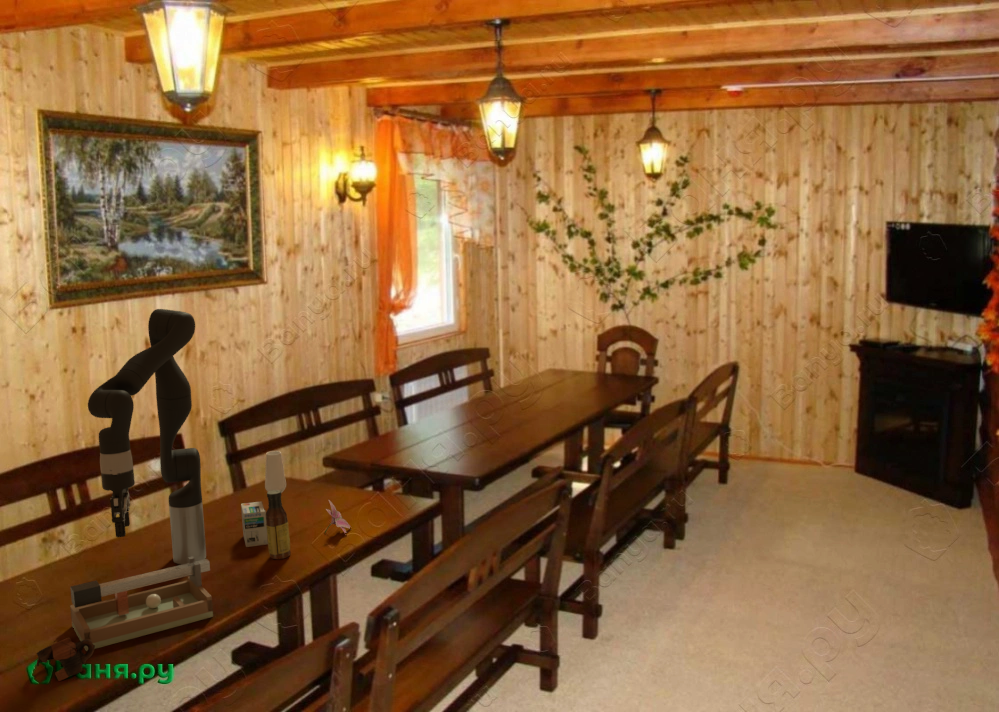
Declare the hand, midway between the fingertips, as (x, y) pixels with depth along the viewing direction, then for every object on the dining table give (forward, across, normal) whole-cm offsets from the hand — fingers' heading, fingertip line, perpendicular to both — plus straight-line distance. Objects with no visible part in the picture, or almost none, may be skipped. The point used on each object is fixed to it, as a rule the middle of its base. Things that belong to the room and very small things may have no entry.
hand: (123, 531), depth 232 cm
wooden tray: (+22, +5, +3) cm, 23 cm away
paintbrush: (+20, +2, +4) cm, 20 cm away
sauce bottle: (+22, -29, +38) cm, 52 cm away
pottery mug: (+23, +26, -11) cm, 36 cm away
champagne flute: (+20, -56, +38) cm, 71 cm away
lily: (+21, -43, +56) cm, 74 cm away
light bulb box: (+21, -44, +31) cm, 58 cm away
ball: (+19, +1, +6) cm, 20 cm away
